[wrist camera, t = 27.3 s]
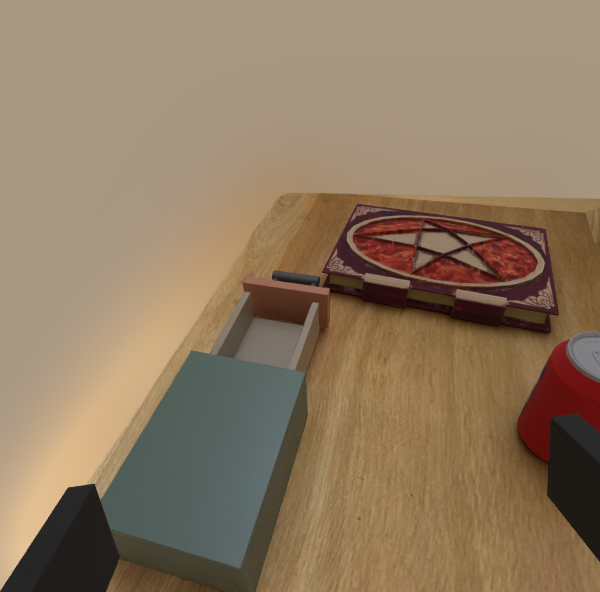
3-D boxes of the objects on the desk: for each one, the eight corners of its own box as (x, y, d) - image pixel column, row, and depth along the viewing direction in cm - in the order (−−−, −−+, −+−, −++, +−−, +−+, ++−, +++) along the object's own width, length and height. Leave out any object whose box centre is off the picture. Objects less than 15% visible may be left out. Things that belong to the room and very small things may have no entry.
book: (538, 245, 66) (549, 216, 63) (550, 339, 51) (565, 307, 48) (356, 219, 74) (358, 192, 71) (320, 294, 59) (320, 264, 56)
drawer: (261, 287, 59) (257, 256, 55) (336, 299, 57) (337, 266, 53) (199, 407, 45) (188, 375, 41) (295, 429, 42) (293, 396, 39)
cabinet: (204, 393, 47) (191, 350, 42) (307, 415, 45) (305, 371, 40) (118, 558, 35) (86, 522, 31) (252, 601, 33) (240, 569, 28)
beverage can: (574, 409, 44) (629, 325, 36) (606, 473, 39) (678, 392, 31) (505, 407, 44) (545, 324, 36) (528, 471, 39) (579, 390, 31)
